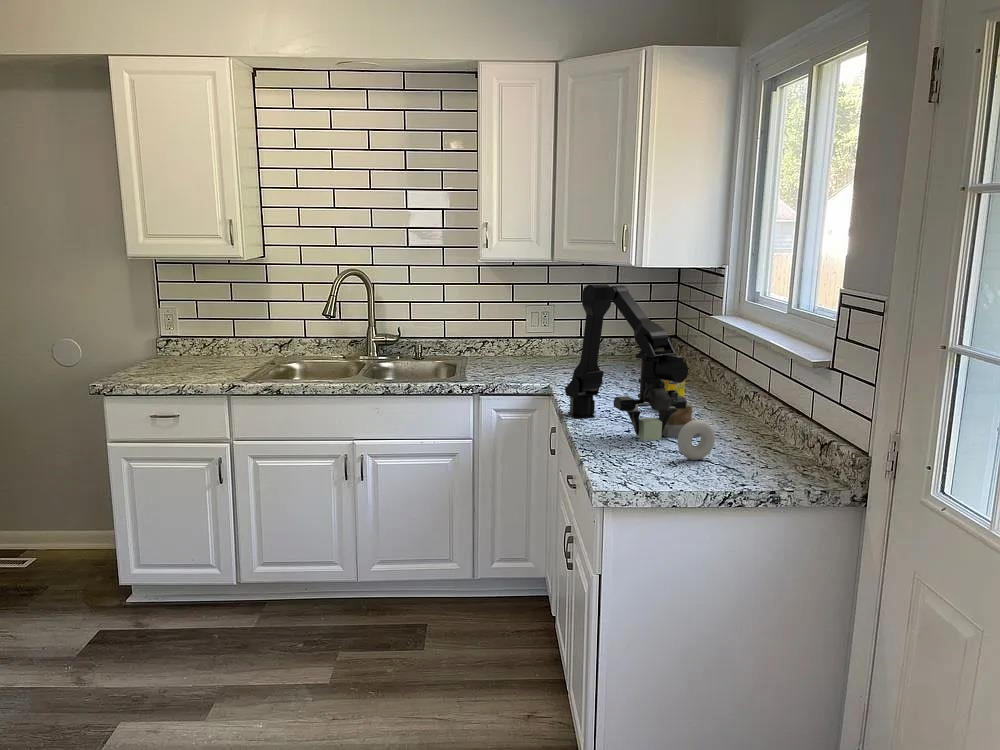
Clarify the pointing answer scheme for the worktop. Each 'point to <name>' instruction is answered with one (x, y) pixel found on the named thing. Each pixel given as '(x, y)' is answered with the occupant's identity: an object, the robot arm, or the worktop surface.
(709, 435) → the donut
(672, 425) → the block
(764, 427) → the worktop surface
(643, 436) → the sage block
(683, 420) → the walnut block
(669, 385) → the supplement box
